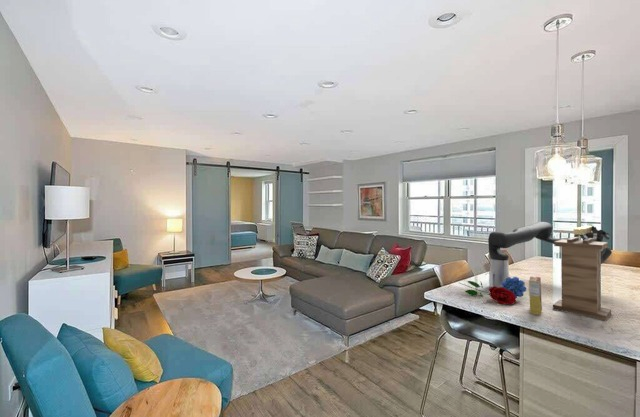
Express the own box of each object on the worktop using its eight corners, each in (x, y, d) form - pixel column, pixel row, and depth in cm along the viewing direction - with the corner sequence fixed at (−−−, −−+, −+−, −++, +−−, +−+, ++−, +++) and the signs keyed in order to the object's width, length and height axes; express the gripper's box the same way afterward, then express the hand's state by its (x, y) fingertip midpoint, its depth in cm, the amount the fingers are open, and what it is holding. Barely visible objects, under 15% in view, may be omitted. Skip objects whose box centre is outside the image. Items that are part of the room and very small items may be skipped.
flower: (456, 272, 163) (515, 288, 138) (463, 277, 168) (521, 294, 143) (451, 287, 161) (510, 306, 136) (458, 292, 166) (516, 311, 141)
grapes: (529, 300, 147) (529, 277, 147) (524, 302, 143) (524, 279, 143) (504, 294, 156) (503, 273, 156) (499, 297, 152) (498, 274, 152)
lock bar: (582, 234, 127) (582, 229, 127) (573, 234, 129) (573, 228, 129) (593, 231, 141) (593, 226, 141) (585, 230, 144) (585, 225, 144)
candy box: (530, 307, 136) (530, 275, 136) (541, 309, 134) (541, 277, 134) (529, 313, 130) (528, 279, 130) (540, 315, 127) (540, 281, 127)
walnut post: (605, 321, 119) (605, 241, 119) (552, 309, 134) (551, 238, 134) (611, 313, 128) (610, 239, 128) (560, 302, 142) (559, 236, 142)
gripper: (577, 234, 156) (569, 220, 146) (613, 236, 144) (608, 221, 135) (575, 247, 153) (568, 233, 144) (612, 250, 142) (607, 235, 133)
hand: (587, 227), depth 140 cm, fingers closed on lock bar, 3 cm apart
